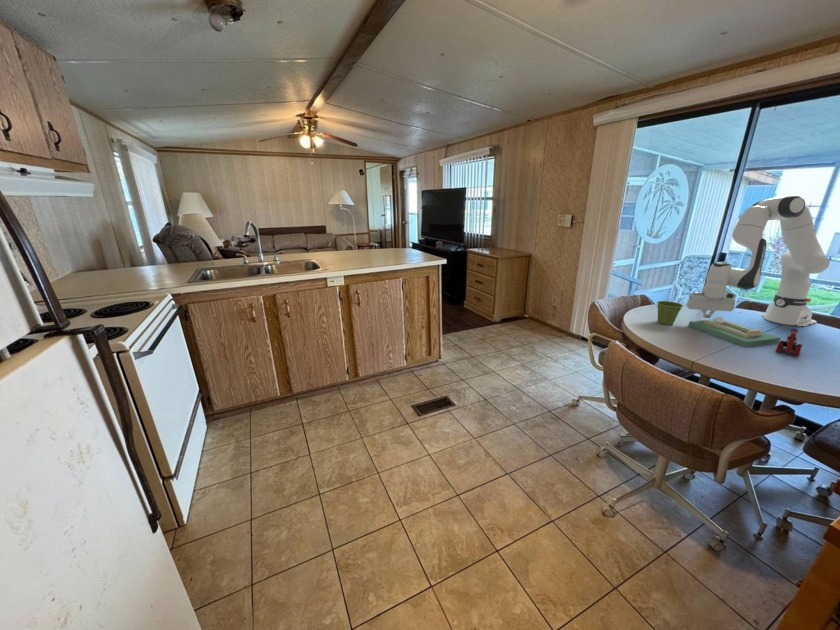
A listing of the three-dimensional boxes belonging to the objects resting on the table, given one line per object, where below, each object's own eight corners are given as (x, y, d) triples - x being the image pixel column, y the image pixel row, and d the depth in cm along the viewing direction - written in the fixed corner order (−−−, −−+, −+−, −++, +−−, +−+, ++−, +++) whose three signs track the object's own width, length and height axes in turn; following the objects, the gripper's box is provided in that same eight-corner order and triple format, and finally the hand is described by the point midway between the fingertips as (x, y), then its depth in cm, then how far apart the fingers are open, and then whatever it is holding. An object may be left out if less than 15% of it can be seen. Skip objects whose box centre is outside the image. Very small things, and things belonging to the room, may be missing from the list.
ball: (717, 322, 177) (719, 315, 176) (724, 325, 173) (727, 318, 172) (710, 323, 176) (712, 316, 175) (718, 326, 173) (720, 318, 171)
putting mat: (688, 325, 180) (690, 316, 179) (718, 322, 184) (721, 313, 182) (744, 346, 154) (748, 335, 153) (778, 342, 158) (782, 332, 156)
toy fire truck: (800, 350, 150) (808, 329, 146) (797, 358, 142) (806, 336, 139) (778, 346, 155) (786, 325, 152) (774, 353, 148) (782, 331, 144)
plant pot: (683, 326, 180) (689, 306, 176) (661, 327, 180) (666, 307, 176) (668, 319, 191) (672, 300, 187) (647, 319, 191) (651, 300, 187)
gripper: (693, 293, 176) (686, 318, 180) (740, 295, 171) (732, 320, 175) (687, 290, 181) (681, 314, 186) (732, 292, 176) (725, 316, 181)
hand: (706, 317), depth 180 cm, fingers closed
